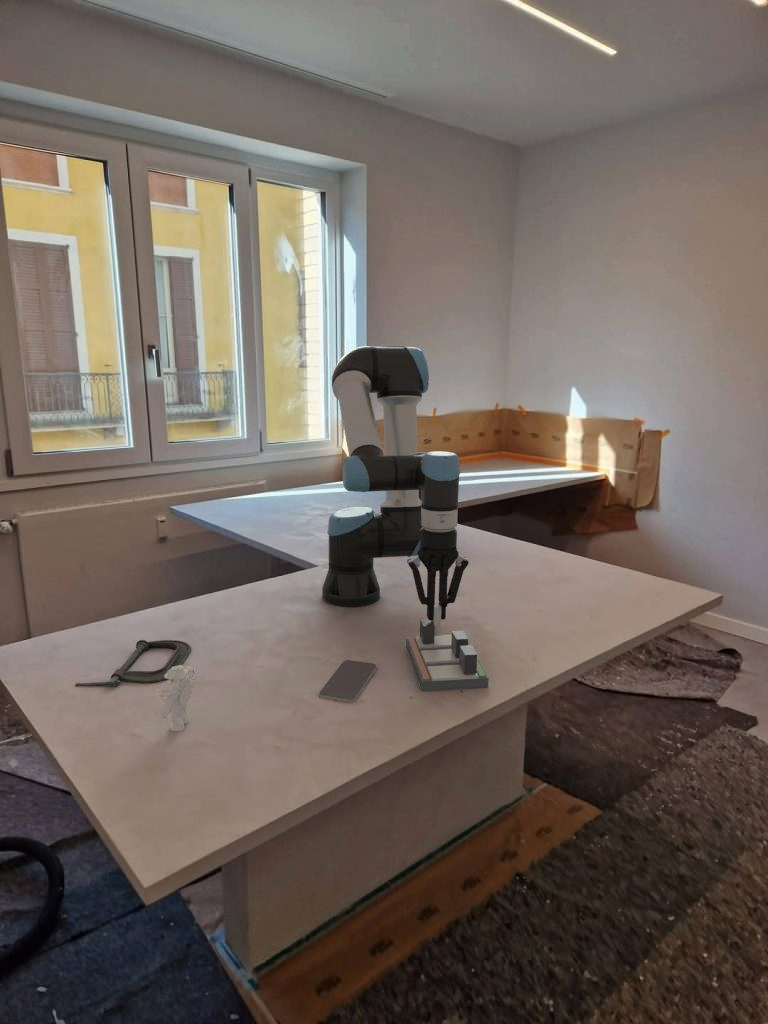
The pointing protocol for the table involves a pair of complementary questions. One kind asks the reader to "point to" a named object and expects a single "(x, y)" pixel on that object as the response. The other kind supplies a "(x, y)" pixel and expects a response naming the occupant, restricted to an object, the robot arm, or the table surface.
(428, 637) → the block
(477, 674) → the panel
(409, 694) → the table surface
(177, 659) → the c clamp
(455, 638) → the block
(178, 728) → the hat wearing toy figure
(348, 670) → the smartphone
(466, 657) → the block
